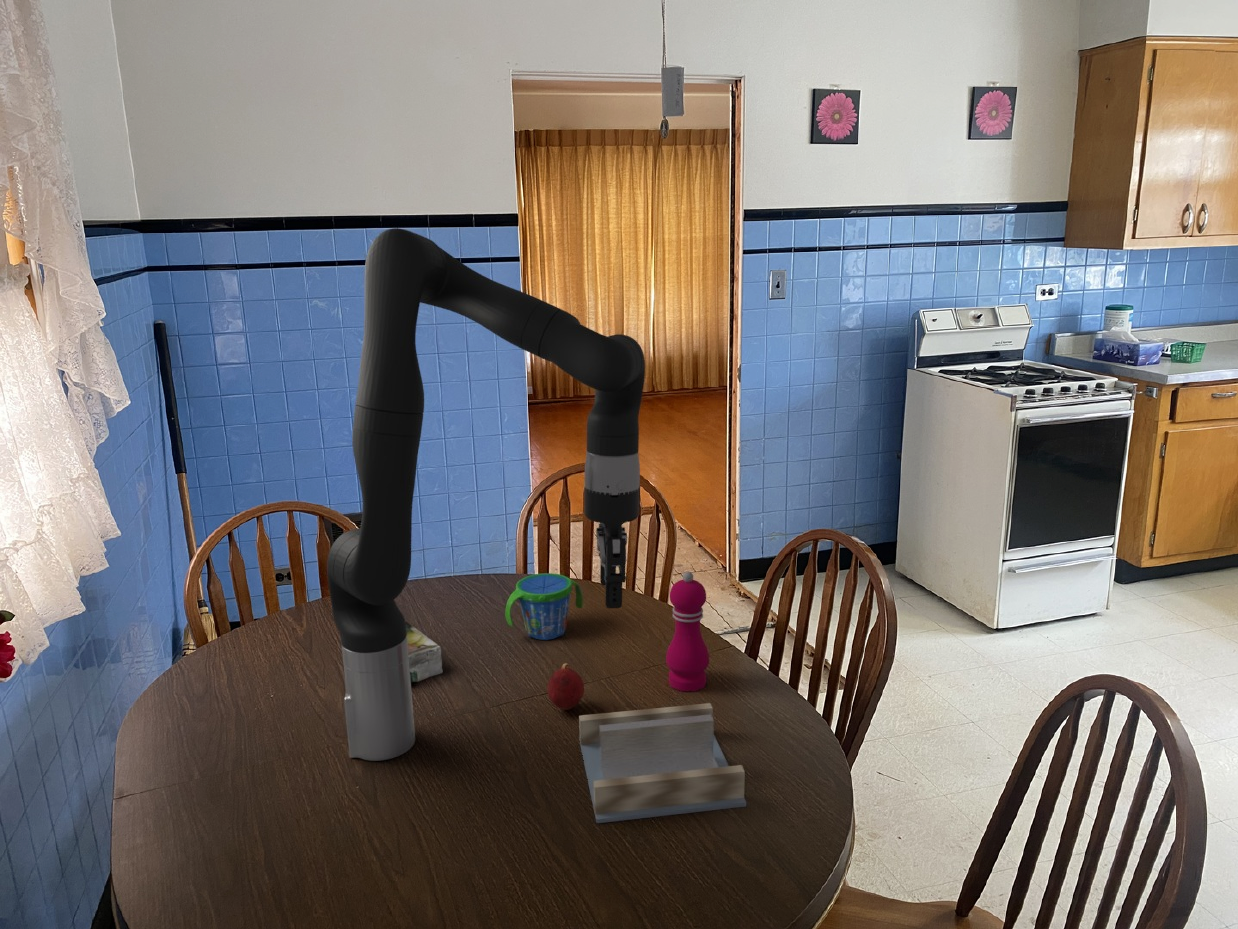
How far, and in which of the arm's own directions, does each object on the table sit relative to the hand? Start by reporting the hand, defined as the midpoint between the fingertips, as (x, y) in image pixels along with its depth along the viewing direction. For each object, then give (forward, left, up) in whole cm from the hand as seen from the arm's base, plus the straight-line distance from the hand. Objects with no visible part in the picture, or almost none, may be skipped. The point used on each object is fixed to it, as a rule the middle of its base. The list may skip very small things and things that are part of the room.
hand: (610, 595), depth 126 cm
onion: (-6, +13, -25) cm, 29 cm away
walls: (+5, -6, -25) cm, 26 cm away
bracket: (+5, -8, -24) cm, 26 cm away
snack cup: (-7, +42, -25) cm, 49 cm away
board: (+5, -6, -25) cm, 26 cm away
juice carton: (-34, +35, -25) cm, 55 cm away
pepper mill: (+15, +18, -25) cm, 34 cm away
